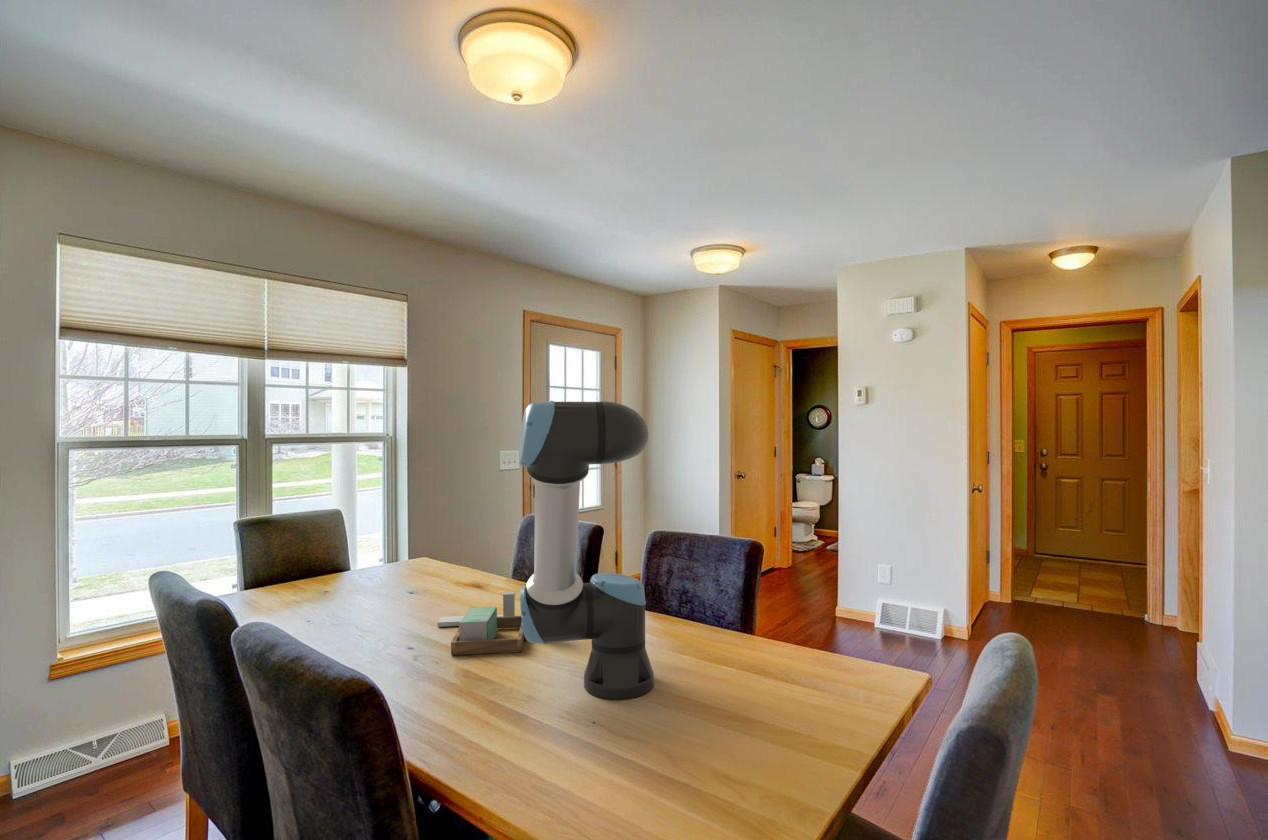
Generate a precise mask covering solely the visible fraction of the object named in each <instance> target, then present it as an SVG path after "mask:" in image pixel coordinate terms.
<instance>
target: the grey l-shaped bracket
mask: <svg viewBox="0 0 1268 840" xmlns="http://www.w3.org/2000/svg"><path fill="white" fill-rule="evenodd" d="M502 598H503V599H502V612H503V613H501V614H498V613H497V617H504V616H516V592H515V590H513V591H504V592H503V594H502ZM464 616H465V615H454V616H441V617H440V618H439V620H438V621H437V624H436V625H437V627H442V628H443V627H459V622H460V621H461V619H462V618H463V617H464Z"/></svg>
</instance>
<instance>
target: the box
mask: <svg viewBox="0 0 1268 840" xmlns="http://www.w3.org/2000/svg"><path fill="white" fill-rule="evenodd" d="M497 615H498V607H496V606H478V607H477V606H475V607H471V608H469V609H468V611H467V612H466V613H465V614H464V615H463V616H464V617H463V618H462V619H461V621H460V622H459V626H458V629H459V641H466V640H488V639H495V637H496V636H497V634H498V629H497Z"/></svg>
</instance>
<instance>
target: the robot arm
mask: <svg viewBox="0 0 1268 840" xmlns="http://www.w3.org/2000/svg"><path fill="white" fill-rule="evenodd" d="M648 440H649V428H648V425H647V423H646V421H645V419H644V418H643V417H642V415H641V414H640V413H638V412H637V411H636V410H634V409H633V408H631V407H629V406H627V405H624V404H622V403H618V402H613V401H602V400H601V401H554V400H548V401H539V402H538V401H537V402H531V403H529V405H527V406H526V408H525V410H524V413H523V418H522V424H521V431H520V441H519V442H520V443H519V451H518V463H519V464H520V466H523V467H525V468H526V472H527V476H528V477H530V479H532V482H533V483H534V484H533V486H532V497H533V499H534V535H533V536H534V537H533V541H534V546H533V547H534V556H533V557H534V558H533V560H534V561H533V564H534V567H533V570H534V572H533V573H532V574H531V575H530V576H529V578H528V580H527V582H526V585H525V586H522V587H521V588H519V607H520V614H521V615H520V616H521V618H522V625H523V631H524V635H525V638H526V639H525V640H526V641H527V642H528V643H530V644H544V645H545V644H549V643H550V644H551V643H560V642H561V643H562V642H572V641H573V642H575V641H583V640H584V641H585V640H586V641H587V640H591V650H590V653H589V657H588V660H587V664H586V667H585V670H584V673H583V674H584V675H583V686H584V689H585V691H586V692H588V693H589V694H590V695H593V696H595V697H597V698H602V699H604V700H605V699H606V700H629V699H634V698H638V697H641V696H644V695H646V694H647V693H649V692H650V691H651V690H652V689H653V688H654V684H655V679H654V676H655V674H654V670H653V666H652V664H651V661H650V658H649V655H648V652H647V649H646V604H647V601H646V596H645V595H646V593H645V587H644V584H643V582H641V580H639V579H638V578H636V577H633V576H630V575H627V574H626V575H625V574H622V573H621V574H620V573H612V572H601V573H594V574H593V575H592V576H591V578H590V580H589V581H590V582H583V580H582V576H580V575H579V574H578V572H577V562H578V561H577V558H578V542H579V541H578V540H579V539H578V538H579V537H578V536H579V518H580V517H579V515H580V514H579V513H580V511H579V509H580V496H581V495H580V494H581V493H580V492H581V491H580V490H581V489H580V487H581V481H583V480H585V479H586V478H587V476H588V474H589V472H590V471H589V469H590V465H607V464H608V465H609V464H616V463H620V462H623V461H627V460H630V459H633V458H635V457H637V456H638V455H639V454H641V453H642V452H643V451H644V449H645V448H646V446H647V443H648Z"/></svg>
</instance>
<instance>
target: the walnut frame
mask: <svg viewBox="0 0 1268 840" xmlns="http://www.w3.org/2000/svg"><path fill="white" fill-rule="evenodd" d="M499 629H501V630H502V629H503V630H504V629H519V631H518V634H517V635H518V636H517V637H512V638H494V639H488V640H466V641H459V628H458V629H457V631H456V633H455V634H454V635H453V638H452V641H450V655H452V656H455V655H457V656H458V655H476V654H478V655H479V654H495V653H515V652H516V653H519V652H522V650H523V646H524V641H525V640H526V638H525V635H524V631H523V625H522V618H521V615H515V616H504V617H497V630H499Z"/></svg>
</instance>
